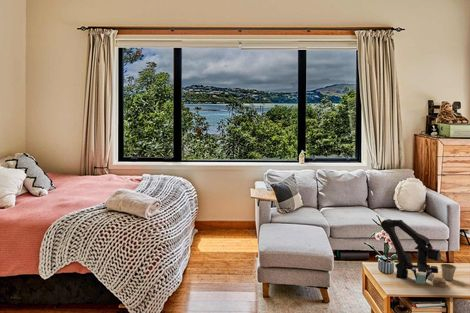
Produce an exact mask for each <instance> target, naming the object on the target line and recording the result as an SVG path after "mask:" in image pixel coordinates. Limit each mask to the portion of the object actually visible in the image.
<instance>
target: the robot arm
mask: <svg viewBox="0 0 470 313" xmlns="http://www.w3.org/2000/svg"><path fill="white" fill-rule="evenodd" d="M380 225H381V228H382V229H383V231H384V233H387V235H388V237H389V239H390V241H391V244H392V246H393V247H394V250H395V251H396V255H397V260H398V263H396V264H395V269H396V275H395V277H396V278H398V279H404V280H406V279H408V277H409V270H411V272H413V275H414V278H415V281H416V280H417V273H423V274H425V273H426V279H425V283H426V282H427V278H428V276H429V275H430V274H432V273H434V274H439V268H438V266H436V265H430V264H428V259H429V260H432V261H435V262H440V261H441V258H442V253H441V250H440V249H436V248H435V249H434V247H433V245H432V244H431V242H430V239H429V238H428V237H427V236H425V235H423V234H421V233H419V232H417V231H416V230H414V229H413V228H412V227H411V226H409V224H407V223H405V222H404V220H403V219H391V218H390V219H389V218H387V219H385V220H383V221H381V223H380ZM396 227H398V228H399V229H400V230H402V231H403V232H404V233H406V234H407V235H408V236H409V237H410V238H411V239H412V240H413V242H414V243H415V244H416V245H417V246H415V247H414V250H417V259H416V260H417V261H416V264H414V263H413V259H412V257H411V255H410V253H409V252H408V253H407V252H406V251H405V249H404V247H403V245H402V243H401V242H400V239H399V238H398V235H397V233H396V230H395V229H396Z"/></svg>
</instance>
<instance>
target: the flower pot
mask: <svg viewBox="0 0 470 313" xmlns="http://www.w3.org/2000/svg"><path fill="white" fill-rule="evenodd" d="M440 268H441V278H444V279H445V281H453V280H454V276H455V273H456V270H457V266H456V265H454V264H451V263H450V264H449V263H441V264H440Z"/></svg>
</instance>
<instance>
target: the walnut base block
mask: <svg viewBox="0 0 470 313" xmlns="http://www.w3.org/2000/svg"><path fill="white" fill-rule="evenodd" d="M431 283H432V285H433V287H440V288H442V287H443V288H446V286H447V280H445V279H444V278H442V277H438V276H434V277H432V280H431Z"/></svg>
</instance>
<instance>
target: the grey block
mask: <svg viewBox="0 0 470 313" xmlns="http://www.w3.org/2000/svg"><path fill="white" fill-rule="evenodd" d="M424 274H425V276H426V273H424ZM432 277H435V273H432V274H430V275H429V276H428V278H427V279H430V281H432Z"/></svg>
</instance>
